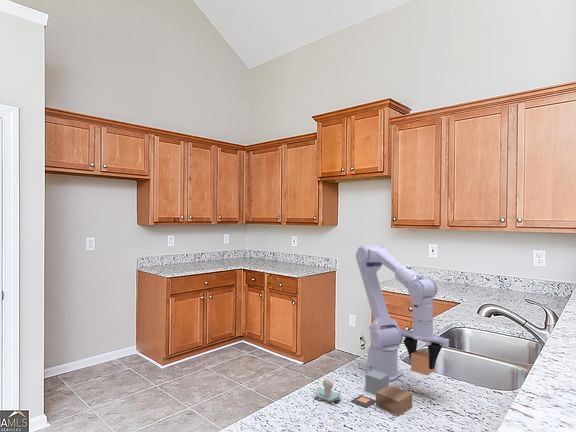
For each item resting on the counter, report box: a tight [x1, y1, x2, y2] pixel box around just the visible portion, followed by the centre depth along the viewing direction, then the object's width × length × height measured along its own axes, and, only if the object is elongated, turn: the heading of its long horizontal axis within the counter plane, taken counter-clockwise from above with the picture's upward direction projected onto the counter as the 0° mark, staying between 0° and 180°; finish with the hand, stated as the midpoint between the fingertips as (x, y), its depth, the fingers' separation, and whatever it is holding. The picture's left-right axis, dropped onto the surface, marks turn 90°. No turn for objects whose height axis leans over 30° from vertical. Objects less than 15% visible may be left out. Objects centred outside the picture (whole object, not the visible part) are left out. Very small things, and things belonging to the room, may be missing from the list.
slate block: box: [364, 370, 390, 396], centre depth 109 cm, size 5×5×5 cm
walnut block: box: [375, 384, 413, 417], centre depth 99 cm, size 7×7×4 cm
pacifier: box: [315, 377, 342, 403], centre depth 104 cm, size 7×6×6 cm
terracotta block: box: [410, 349, 436, 376], centre depth 107 cm, size 5×5×5 cm
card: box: [350, 394, 376, 409], centre depth 101 cm, size 5×5×1 cm
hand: (422, 365), depth 107 cm, fingers closed on terracotta block, 5 cm apart
